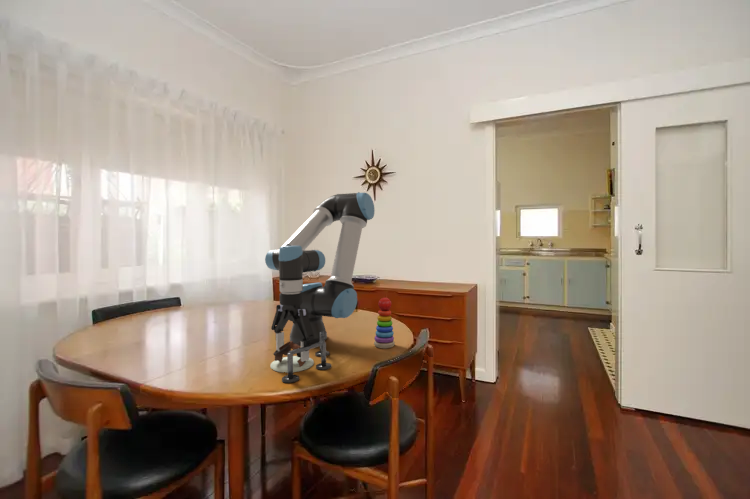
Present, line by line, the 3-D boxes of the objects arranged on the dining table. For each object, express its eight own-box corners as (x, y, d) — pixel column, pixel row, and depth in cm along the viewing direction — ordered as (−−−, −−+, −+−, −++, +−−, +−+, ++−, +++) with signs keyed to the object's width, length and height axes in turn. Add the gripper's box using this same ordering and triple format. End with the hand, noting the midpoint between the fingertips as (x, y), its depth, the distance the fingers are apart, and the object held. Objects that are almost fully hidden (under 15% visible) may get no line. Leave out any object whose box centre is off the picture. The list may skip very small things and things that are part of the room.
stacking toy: (393, 349, 133) (392, 300, 132) (372, 348, 135) (371, 299, 134) (396, 343, 141) (395, 296, 140) (376, 342, 142) (375, 295, 142)
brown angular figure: (298, 371, 112) (284, 350, 111) (278, 379, 116) (265, 358, 116) (317, 351, 122) (304, 331, 122) (299, 359, 127) (286, 339, 126)
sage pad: (262, 365, 118) (262, 364, 118) (296, 354, 128) (296, 353, 128) (287, 376, 109) (287, 374, 109) (322, 363, 119) (322, 362, 119)
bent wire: (260, 371, 112) (259, 345, 112) (322, 351, 132) (322, 328, 131) (288, 384, 102) (288, 355, 102) (351, 360, 122) (351, 335, 122)
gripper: (260, 290, 123) (261, 350, 124) (306, 297, 107) (307, 367, 107) (278, 287, 128) (279, 345, 129) (325, 294, 112) (325, 361, 113)
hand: (292, 355), depth 118 cm, fingers open, 13 cm apart
